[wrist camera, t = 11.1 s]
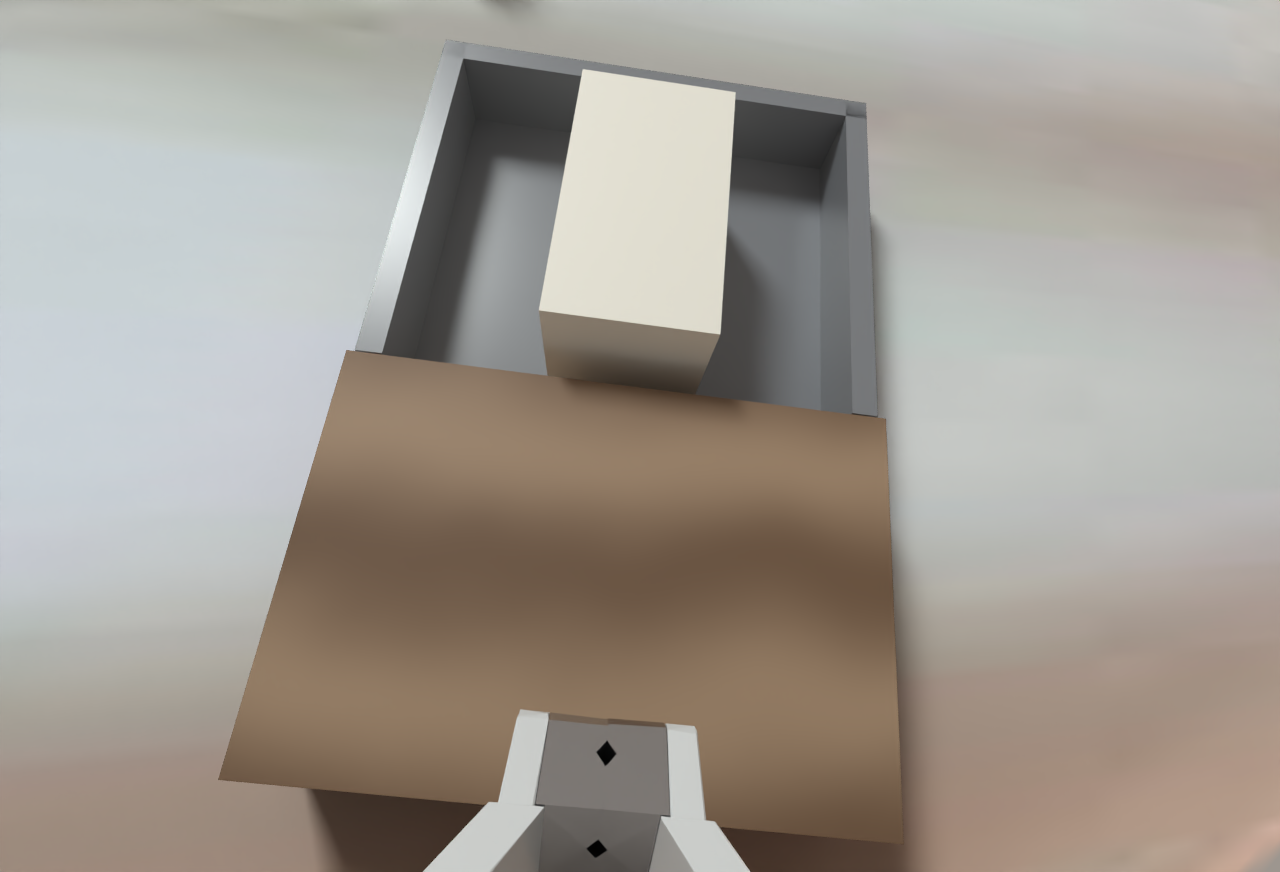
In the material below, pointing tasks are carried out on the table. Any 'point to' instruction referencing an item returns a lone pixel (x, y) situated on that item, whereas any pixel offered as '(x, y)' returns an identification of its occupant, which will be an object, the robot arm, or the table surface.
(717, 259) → the block
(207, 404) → the table surface
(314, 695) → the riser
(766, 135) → the bin
